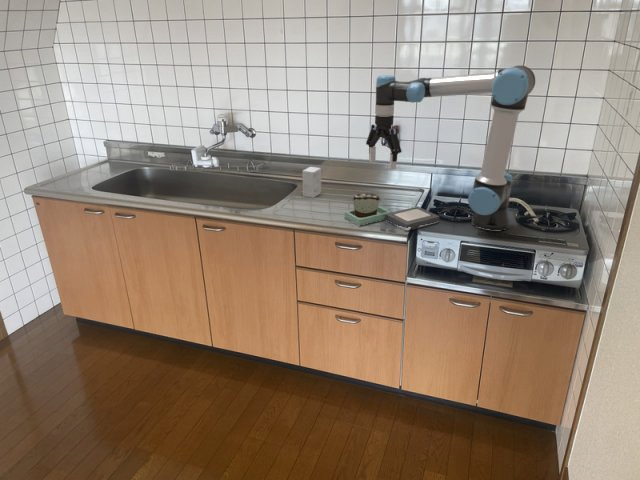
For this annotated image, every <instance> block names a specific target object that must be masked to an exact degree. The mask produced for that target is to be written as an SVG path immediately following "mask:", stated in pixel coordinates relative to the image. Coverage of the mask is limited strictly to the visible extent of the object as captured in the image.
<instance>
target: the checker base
mask: <svg viewBox="0 0 640 480" xmlns="http://www.w3.org/2000/svg"><path fill="white" fill-rule="evenodd" d="M414 209H419V210H421V211H423V212H425V213H427V214H430V215H431V216H430V217H426V218H422V219H418V220H414V221H411V222H406V221H404V220H402V219H400V218H398V217H396V216H394V214H398V213H402V212H406V211H410V210H414ZM385 220H387V221H389V222H392V223H394V224H396V225H398V226H402V227H406V228H408V227H411V229H412V230H411V231H413V230H417V229H419V228H418V227H419V226H420V225H425V224H430V223H434V222H437V221H439V222H440V216H439V215H437V214H435V213H433V212H430V211H429V210H426V209H424V208H421V207H419V206H412V207H409V208H405V209H402V210H397V211H394V212H393V211H391V213H388V214H386V217H385ZM385 220H384V221H385ZM387 221H386V222H387ZM389 222H388V223H389Z"/></svg>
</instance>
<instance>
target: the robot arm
mask: <svg viewBox="0 0 640 480" xmlns="http://www.w3.org/2000/svg"><path fill="white" fill-rule="evenodd" d="M376 77H377V78H376V81H375V82H376V83H375V108H374V110H375V111H374V113H375V116H374V124H371V125H370V131H369V134H368V136H367V139H366V141H365V144H366V146H368V147H369V149H368V153H369V163H375V162H376V159H377V158H376V157H377V156H376V154H377V153H376V152H377V151H376V150H377V147H376V144H377V143H378V141H379V140H380V138H382V139H384V140H385V141H386V143H387V145H388V147H389V149H390V154H389V156H390V157H389V169H390V170H394V169H397V162H398V154H400V153H402V147H401V144H400V140H399V137H398V129H397V128H392V126H393V125H394V110H395V109H394V108H395V102H405V103H407V102H408V103H421V102H423V99H424V98H433V97H434V98H437V97H438V98H439V97H451V96H455V97H456V96H469V95H470V96H471V95H488V94H490V95H491V94H492V98H491V102H490V103H491V104H490V106H491V108H492V109H493V115H492V118H491V123H490V129H489V133H488V135H487V136H488V137H487V142H486V147H485V150H484V155H483V161H482V164H481V169H480V173H478V174H476V175H475V176H474V177H475V178H474V182H473V186H472V189H471V191H470V193H469V195H468V197H467V198H468V199H467V203H468V206H469V207H470V209H471V210H472V211H473V212H474V214H473V216H472V218H471V224H472V223H473V224H474V225H475V226H477V227H481V228H484V229H490V230H504V229H507V228H508V227H509V228H510V224H511V223H510V219H509V211H508V208H509V203H510V197H511V196H510V195H511V190H512V184H513V175H512V174H511V173H508V172H506V169H507V166H508V160H509V156H510V154H511V153H510V152H511V149H512V144H513V140H514V137H515V136H514V135H515V132H516V128H517V123H518V119H519V114H520V113H522V112H523V111H525V110H526V109H525V108H526V105H527V101H528V98H529V95H530V94H531V93H532V91H533V90H534V88H535V86H536V76H535V73H534V72H533V70H532V69H531V68H530V67H528V66H527V65H525V66H524V65H515V66H514V65H513V66H511V67H508V68H500V69H497V71H495V72H485V73H475V74H474V73H473V74H463V75H462V74H461V75H453V76H452V75H450V76H449V75H447V76H438V77H420V78H417V79H414V80H410V81H398V80H396V76H395V75H391V74H383V75H382V74H381V75H378V76H376ZM509 228H508V229H509ZM508 229H507V230H508Z"/></svg>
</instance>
